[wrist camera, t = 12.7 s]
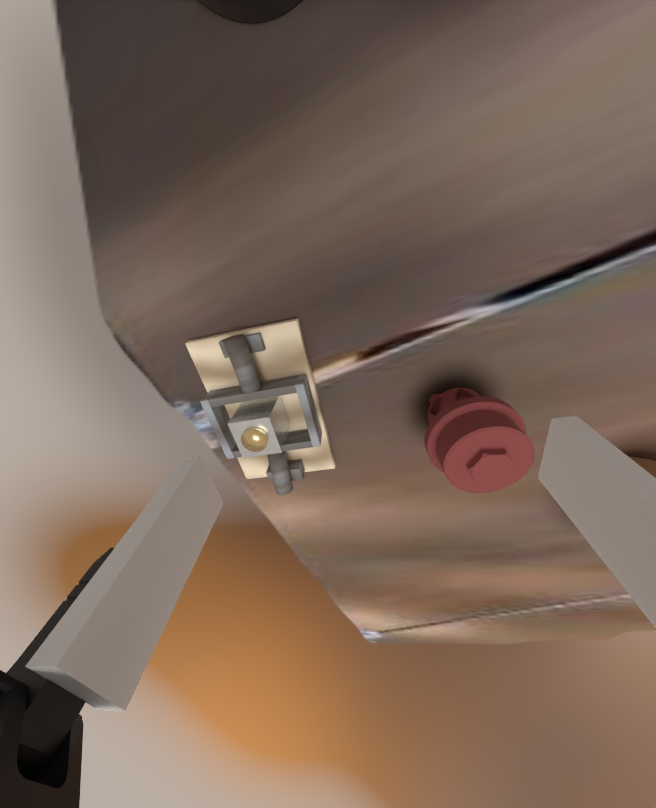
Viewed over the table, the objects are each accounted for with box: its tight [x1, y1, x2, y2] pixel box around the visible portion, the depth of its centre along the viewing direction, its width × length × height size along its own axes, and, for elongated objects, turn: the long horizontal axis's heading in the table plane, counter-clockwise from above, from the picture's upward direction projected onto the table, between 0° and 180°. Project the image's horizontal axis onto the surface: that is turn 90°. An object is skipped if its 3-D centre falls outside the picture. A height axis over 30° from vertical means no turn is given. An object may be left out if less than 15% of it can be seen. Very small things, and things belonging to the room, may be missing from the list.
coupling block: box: [228, 396, 291, 458], centre depth 36 cm, size 5×5×7 cm
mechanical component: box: [425, 388, 534, 493], centre depth 32 cm, size 12×10×10 cm
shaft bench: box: [185, 318, 335, 495], centre depth 37 cm, size 22×14×6 cm, turn 12°
